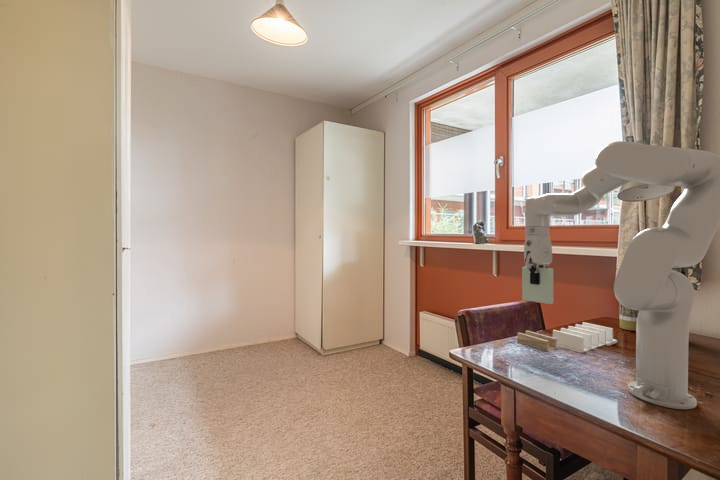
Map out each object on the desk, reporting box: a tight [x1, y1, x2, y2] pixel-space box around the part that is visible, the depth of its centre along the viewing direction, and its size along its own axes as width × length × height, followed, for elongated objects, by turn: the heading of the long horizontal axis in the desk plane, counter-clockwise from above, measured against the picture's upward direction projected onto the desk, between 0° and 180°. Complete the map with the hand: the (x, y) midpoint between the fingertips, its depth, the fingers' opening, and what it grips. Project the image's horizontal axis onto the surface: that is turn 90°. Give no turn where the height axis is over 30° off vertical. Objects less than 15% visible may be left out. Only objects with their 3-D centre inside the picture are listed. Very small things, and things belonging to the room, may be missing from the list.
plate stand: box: [516, 330, 560, 352], centre depth 118 cm, size 7×12×4 cm, turn 30°
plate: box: [521, 266, 554, 305], centre depth 117 cm, size 2×10×12 cm, turn 30°
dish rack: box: [552, 321, 618, 354], centre depth 120 cm, size 25×11×6 cm, turn 120°
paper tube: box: [619, 303, 639, 332], centre depth 138 cm, size 7×7×25 cm
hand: (537, 283), depth 117 cm, fingers closed on plate, 2 cm apart
